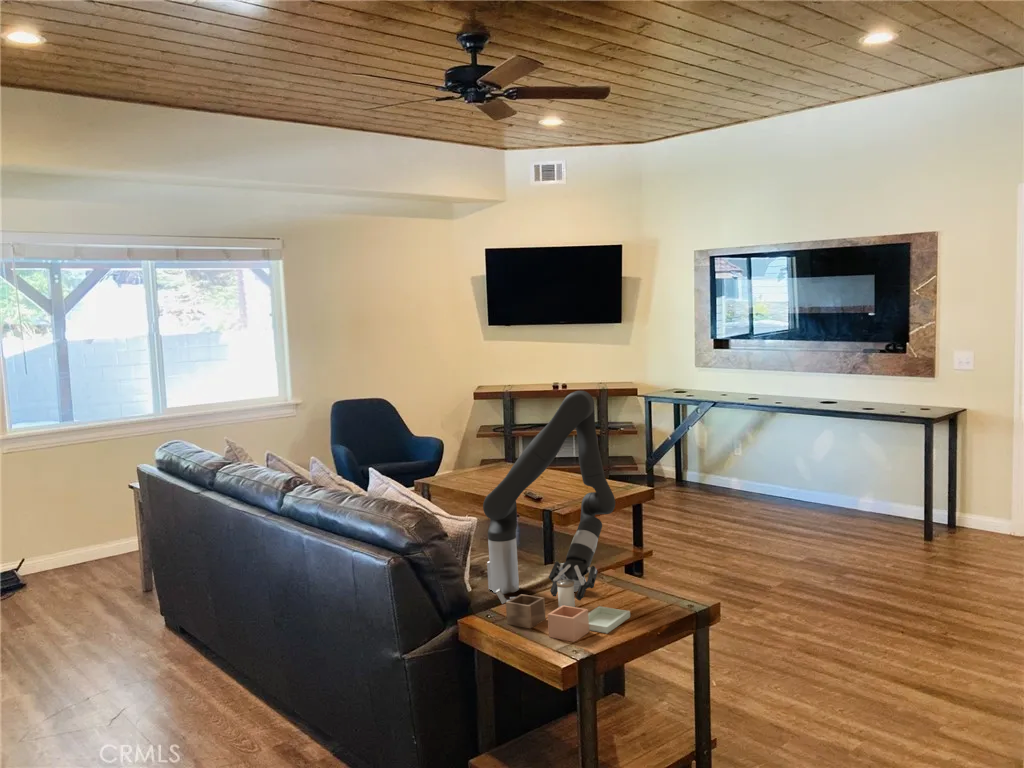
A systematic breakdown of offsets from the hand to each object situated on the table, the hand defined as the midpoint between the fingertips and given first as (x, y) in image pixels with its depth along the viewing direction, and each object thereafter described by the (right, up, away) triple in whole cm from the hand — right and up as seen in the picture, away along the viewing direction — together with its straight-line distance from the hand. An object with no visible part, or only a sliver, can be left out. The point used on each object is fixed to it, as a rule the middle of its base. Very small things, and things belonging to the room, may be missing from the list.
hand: (565, 597), depth 223 cm
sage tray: (+10, -6, -8) cm, 14 cm away
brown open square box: (-11, -7, -4) cm, 14 cm away
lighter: (-17, -7, +4) cm, 18 cm away
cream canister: (+1, -6, +1) cm, 6 cm away
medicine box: (+3, -5, +24) cm, 24 cm away
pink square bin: (0, -6, -16) cm, 17 cm away
